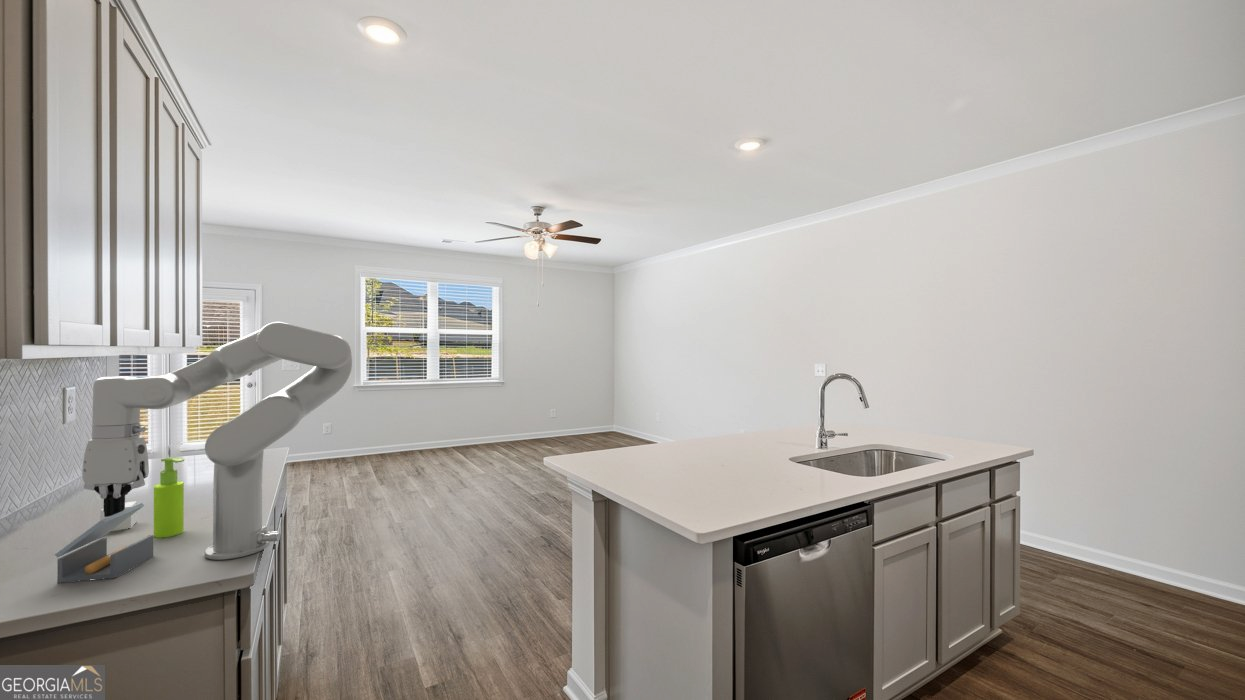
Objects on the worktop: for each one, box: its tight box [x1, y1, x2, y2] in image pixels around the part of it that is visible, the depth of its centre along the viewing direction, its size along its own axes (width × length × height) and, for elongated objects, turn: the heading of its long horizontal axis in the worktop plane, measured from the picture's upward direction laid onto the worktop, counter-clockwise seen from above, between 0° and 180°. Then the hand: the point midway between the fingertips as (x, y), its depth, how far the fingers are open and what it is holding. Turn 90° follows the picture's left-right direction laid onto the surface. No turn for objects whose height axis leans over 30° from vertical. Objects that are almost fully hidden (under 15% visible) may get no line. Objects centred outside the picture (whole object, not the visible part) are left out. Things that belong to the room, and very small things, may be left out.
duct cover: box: [54, 502, 145, 559], centre depth 113 cm, size 11×12×1 cm
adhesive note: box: [99, 500, 138, 532], centre depth 139 cm, size 6×6×6 cm
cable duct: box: [56, 534, 154, 584], centre depth 113 cm, size 10×12×5 cm
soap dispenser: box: [153, 457, 185, 539], centre depth 134 cm, size 6×7×20 cm
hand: (114, 514), depth 113 cm, fingers closed
